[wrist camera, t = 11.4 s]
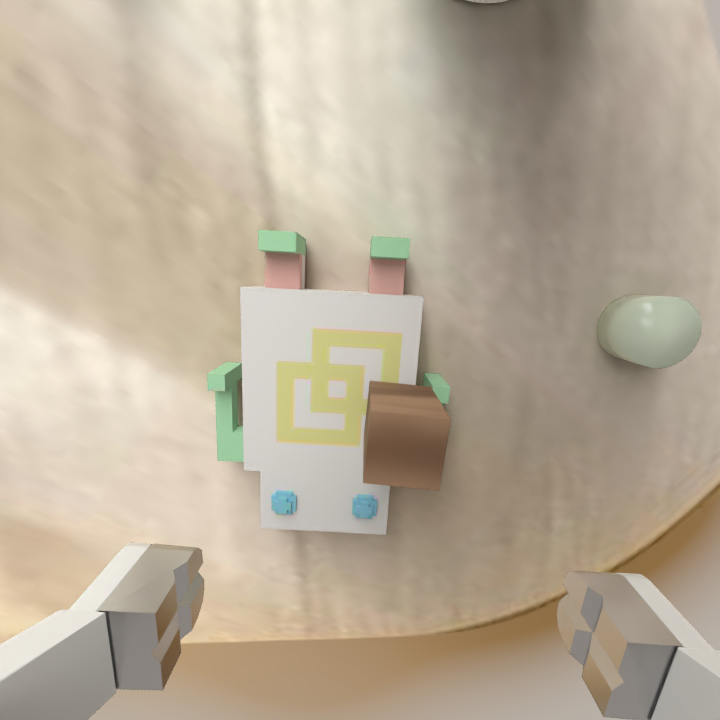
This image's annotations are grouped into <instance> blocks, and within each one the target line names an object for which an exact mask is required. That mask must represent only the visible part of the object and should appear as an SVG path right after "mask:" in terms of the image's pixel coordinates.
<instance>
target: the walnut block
mask: <svg viewBox="0 0 720 720" xmlns="http://www.w3.org/2000/svg"><path fill="white" fill-rule="evenodd" d="M450 422H451V418H450V417H449V415H448V413H447V412H446V410H445V409H444V407H443V405H442V404H441V402H440V401H439V399H438V397H437V396H436V394H435V393H434V391H433V389H432V388H431V387H430V386H420V385H410V384H400V383H390V382H380V381H370V382H369V392H368V401H367V410H366V419H365V428H364V439H363V483H366V484H376V485H387V486H397V487H407V488H417V489H427V490H438V491H439V489H440V482H441V476H442V470H443V464H444V458H445V452H446V446H447V440H448V434H449V428H450Z"/></svg>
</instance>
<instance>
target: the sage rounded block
mask: <svg viewBox="0 0 720 720" xmlns="http://www.w3.org/2000/svg"><path fill="white" fill-rule="evenodd" d="M700 334H701V319H700V315H699V313H698V311H697V309H696V308H695V307H694V306H693V305H692V304H691V303H690V302H689V301H687V300H685V299H682V298H679V297H669V296H652V295H626V296H623V297H621V298H618V299H617V300H615V301H613V302H612V303H611V304H610V305H609V306H608V307H607V308H606V309H605V310H604V311H603V313H602V315H601V317H600V319H599V321H598V325H597V338H598V341H599V343H600V345H601V347H602V348H603V349H604V350H605V351H606V352H607V353H608V354H610V355H612V356H614V357H617V358H620V359H624V360H627V361H630V362H633V363H636V364H640V365H643V366H646V367H650V368H665V367H669V366H672V365H675V364H677V363H678V362H680V361H682V360H683V359H684V358H686V357H687V356H688V355H689V354H690V353H691V352H692V350H693V349H694V347H695V346H696V344H697V342H698V340H699V337H700Z"/></svg>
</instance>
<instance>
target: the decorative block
mask: <svg viewBox="0 0 720 720" xmlns="http://www.w3.org/2000/svg"><path fill="white" fill-rule="evenodd" d="M409 246H410V238H392V237H374V236H372V240H371V249H370V266H369V283H368V292H357V291H339V290H321V289H305V262H306V239H305V238H304V237H302V236H301V235H300V234H298V233H297V232H285V231H267V230H258V250H261V251H264V252H265V286H252V287H240V296H241V348H242V363H233V362H226V363H225V364H223V365H221V366H220V367H218V368H216V369H215V370H213V371H211V372H210V373H208V374H207V380H208V391H215V400H216V427H217V455H218V461H236V462H244V470H247V471H260V508H261V528H267V529H286V530H305V531H324V532H343V533H362V534H381V535H386V530H387V518H388V505H389V493H390V486H387V485H376V484H366V483H363V439H364V428H365V419H366V410H367V401H368V392H369V382H370V381H380V382H390V383H400V384H410V385H416V376H417V365H418V354H419V343H420V332H421V322H422V311H423V300H424V297H421V296H417V295H411V294H403V288H404V275H405V263H406V259H408V258H409ZM241 378H242V400H243V426H238V400H237V382H238V381H239V380H240V379H241ZM423 386H430V387H431V388H432V389H433V391H434V393H435V394H436V396H437V397H438V399H439V401H440V402H441V404H442V405H443V407H444V403H447V404H448V403H449V394H450V386H449V385H448V384H447V383H446V381H445V380H444V379H443V378H442V376H441V375H440V374H434V373H424V380H423Z"/></svg>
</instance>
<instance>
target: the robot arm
mask: <svg viewBox="0 0 720 720" xmlns="http://www.w3.org/2000/svg"><path fill="white" fill-rule="evenodd" d="M467 1H471V2H477V3H498V2H504V1H509V0H467ZM202 563H203V557H202V550H201V549H199V548H196V547H184V546H173V545H162V544H144V543H134V542H131V543H129V544H128V545H126V546H124V547H123V548H122V549H121V550H120V552H119V553H118V554H117V555H116V556H115V557H114V558H113V560H112V561H111V562H110V563H109V564H108V565H107V566H106V568H105V569H104V570H103V571H102V572H101V573H100V574H99V576H98V577H97V578H96V579H95V580H94V581H93V582H92V584H91V585H90V586H89V587H88V588H87V589H86V590H85V592H84V593H83V594H82V595H81V596H80V597H79V598H78V599H77V601H76V602H75V603H74V604H73V605H72V606H71V607H70V609H69V610H59V611H57V612H56V613H54V614H52V615H50V616H49V617H47V618H45V619H43V620H42V621H40V622H38V623H37V624H35V625H33V626H31V627H30V628H28V629H26V630H24V631H23V632H21V633H19V634H18V635H16V636H14V637H12V638H11V639H9V640H7V641H5V642H4V643H2V644H0V720H88V719H89V718H90V717H91V716H92V715H93V714H94V713H95V712H96V711H97V710H98V709H100V708H101V707H102V706H103V705H104V704H105V703H106V702H107V701H108V700H109V699H110V698H111V697H112V696H113V695H114V694H115V693H116V689H129V690H163V689H164V687H165V685H166V683H167V681H168V679H169V677H170V675H171V673H172V670H173V668H174V666H175V664H176V662H177V660H178V658H179V656H180V653H181V645H180V640H181V639H182V638H183V637H184V636H185V635H187V634H188V633H189V632H190V631H192V629H193V627H194V624H195V622H196V620H197V618H198V615H199V612H200V609H201V605H202V602H203V596H204V579H203V577H202V576H201V575H200V574H199V573H198V571H199V569H200V567H201V565H202ZM563 585H564V587H565V589H566V590H567V592H568V594H567V595H566V596H564V597H563V598H562V599H561V600H560V601H559V604H558V610H557V620H558V628H559V631H560V634H561V637H562V640H563V642H564V644H565V646H566V648H567V650H568V652H569V653H570V654H571V655H572V656H573V657H574V658H575V659H576V660H577V661H579V662H580V663H581V664H582V665H583V673H582V678H583V680H584V682H585V684H586V685H587V687H588V689H589V691H590V693H591V694H592V696H593V698H594V700H595V702H596V704H597V706H598V708H599V709H600V711H601V713H602V715H603V717H610V718H622V719H632V720H720V650H714V649H713V648H712V647H711V646H710V645H709V644H708V643H707V642H706V641H705V640H704V639H703V637H702V636H701V635H700V634H699V633H698V632H697V631H696V630H695V629H694V628H693V627H692V626H691V625H690V623H689V622H688V621H687V620H686V619H685V618H684V617H683V616H682V615H681V614H680V613H679V612H678V610H677V609H676V608H675V607H674V606H673V605H672V604H671V603H670V602H669V601H668V600H667V599H666V598H665V596H664V595H663V594H662V593H661V592H660V591H659V590H658V589H657V588H656V587H655V586H654V585H653V584H652V583H651V581H650V580H649V579H647V578H646V577H644V576H643V575H641V574H630V573H606V572H587V571H570V572H569V573H568V574H567V575H566V577H565V580H564V584H563Z"/></svg>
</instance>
